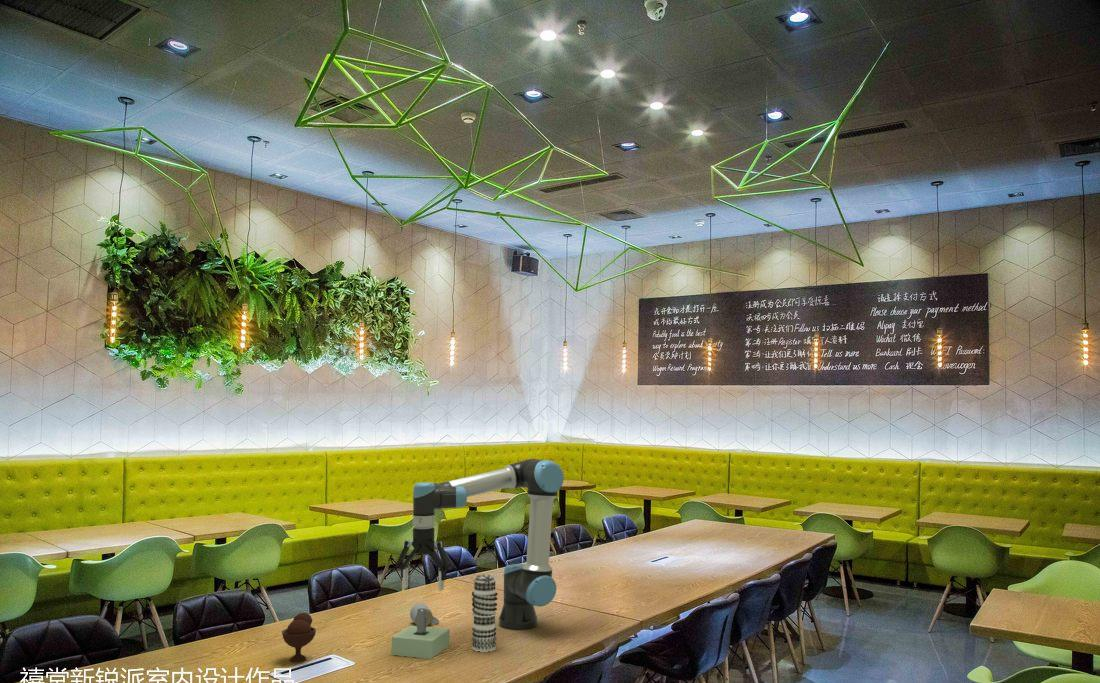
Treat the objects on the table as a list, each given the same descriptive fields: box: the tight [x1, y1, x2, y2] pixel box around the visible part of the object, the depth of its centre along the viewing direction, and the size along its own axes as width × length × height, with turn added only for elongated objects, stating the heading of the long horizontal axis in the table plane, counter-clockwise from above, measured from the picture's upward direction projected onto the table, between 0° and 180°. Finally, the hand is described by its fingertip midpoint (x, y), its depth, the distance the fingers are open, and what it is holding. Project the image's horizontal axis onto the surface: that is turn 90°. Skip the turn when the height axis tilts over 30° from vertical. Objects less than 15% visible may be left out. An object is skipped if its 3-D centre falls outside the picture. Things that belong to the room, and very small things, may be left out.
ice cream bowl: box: [281, 612, 317, 663], centre depth 259 cm, size 11×11×15 cm
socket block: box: [390, 625, 451, 660], centre depth 269 cm, size 15×15×6 cm
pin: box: [416, 608, 427, 635], centre depth 270 cm, size 3×3×14 cm
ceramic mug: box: [409, 602, 440, 627], centre depth 302 cm, size 11×8×8 cm
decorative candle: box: [471, 574, 499, 653], centre depth 273 cm, size 9×9×25 cm
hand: (423, 588), depth 271 cm, fingers open, 13 cm apart
